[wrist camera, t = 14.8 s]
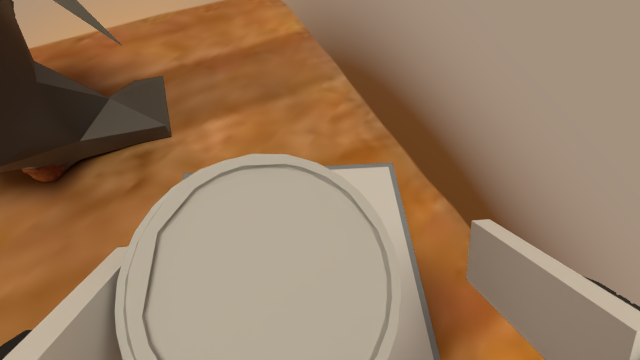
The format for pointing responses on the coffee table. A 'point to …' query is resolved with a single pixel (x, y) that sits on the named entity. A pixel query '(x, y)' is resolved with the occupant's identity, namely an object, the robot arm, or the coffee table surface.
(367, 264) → the disposable coffee cup
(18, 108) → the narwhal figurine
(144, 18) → the coffee table surface
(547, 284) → the robot arm
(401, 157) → the coffee table surface
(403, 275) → the plate
